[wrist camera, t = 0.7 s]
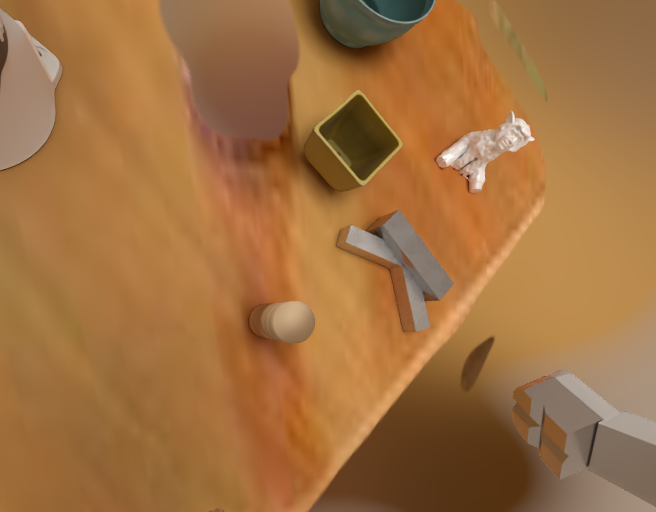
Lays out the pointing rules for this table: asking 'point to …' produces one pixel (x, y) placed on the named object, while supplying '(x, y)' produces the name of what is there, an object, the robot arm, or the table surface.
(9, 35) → the robot arm
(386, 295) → the table surface
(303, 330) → the dowel
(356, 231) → the crossed grey wooden bars
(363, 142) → the flower pot
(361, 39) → the flower pot
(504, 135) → the sitting furry creature
